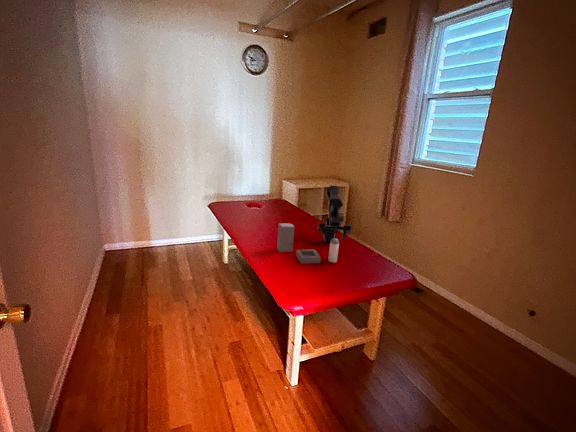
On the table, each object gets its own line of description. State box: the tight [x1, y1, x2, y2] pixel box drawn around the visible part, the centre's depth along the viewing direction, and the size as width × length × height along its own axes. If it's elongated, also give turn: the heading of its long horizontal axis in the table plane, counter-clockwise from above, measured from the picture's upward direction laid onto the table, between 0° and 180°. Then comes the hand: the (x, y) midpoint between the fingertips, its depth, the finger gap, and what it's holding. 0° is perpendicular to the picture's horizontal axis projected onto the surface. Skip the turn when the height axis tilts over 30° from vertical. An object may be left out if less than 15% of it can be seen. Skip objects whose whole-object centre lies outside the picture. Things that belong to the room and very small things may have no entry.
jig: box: [295, 248, 322, 264], centre depth 177 cm, size 11×11×3 cm
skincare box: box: [276, 222, 295, 253], centre depth 185 cm, size 8×7×16 cm
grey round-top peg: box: [327, 237, 340, 263], centre depth 175 cm, size 5×5×13 cm
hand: (334, 241), depth 177 cm, fingers open, 9 cm apart
